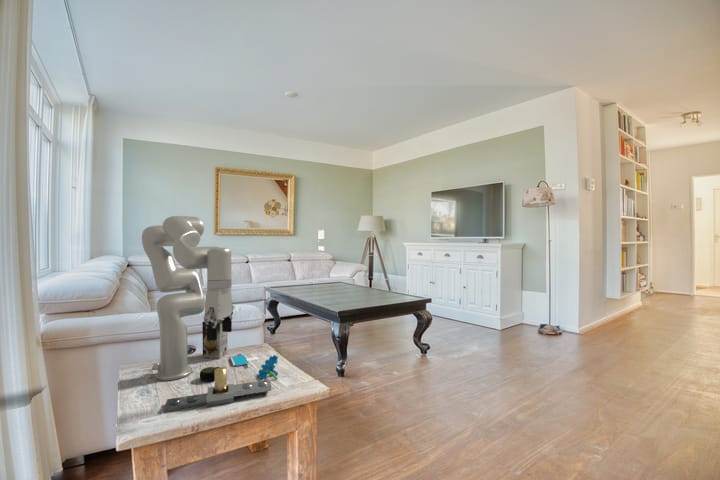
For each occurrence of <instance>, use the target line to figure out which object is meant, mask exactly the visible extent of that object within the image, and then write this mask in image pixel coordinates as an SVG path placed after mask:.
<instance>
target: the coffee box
mask: <svg viewBox="0 0 720 480" xmlns="http://www.w3.org/2000/svg"><path fill="white" fill-rule="evenodd" d="M222 320H223V319H221V320H219V321H218V322H217V325H216V327H215V328H217V340H207V328H206V325H205V321H204V320H203V321H202V322H201V323H202V327H201V328H202V358H204V357H209V358H208V359H216V358H219V359H218V360H221V359H222V358H224V357H226V356H228V355H229V354H228V353H229V351H228V349H229V347H228V346H229V345H228V342H229V339H228V338H229V337H228V336H229V335H228V333H229V332H223V331H222ZM212 323H214V321H212ZM227 354H228V355H227ZM225 355H226V356H225Z"/></svg>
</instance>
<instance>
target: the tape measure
mask: <svg viewBox="0 0 720 480" xmlns="http://www.w3.org/2000/svg"><path fill="white" fill-rule="evenodd" d="M219 367H220V366H216V367H214V366H209V367H204V368H202V369H200V372H199V379H200V381H202V382H203V381H204V382H208V381H215V369H216V368H219Z"/></svg>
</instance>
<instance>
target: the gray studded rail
mask: <svg viewBox="0 0 720 480" xmlns="http://www.w3.org/2000/svg"><path fill="white" fill-rule="evenodd" d="M270 380H271V379H263V380H262V379H261V380H257V381H250V382H244V383H235V384H234V383H230V384H227V392H225V393H219V394H215V385H214V386H210V387H209V386H208V387H207V393H199V394H192V395H187V396H186V395H185V396H180V397H179V396H178V397H173V398H167V399H166V402H165V405H164V407H163V413H169V412H176V411H181V410H182V411H183V410H187V409H189V410H190V409H194V408H199V407H207V408H208V407H214V406H215V407H216V406H220V405H226V404H232V403H233V404H234V403H235V402H234V400H235V399H234V398H235V397H238V396H239V397H240V396H242V397H243V398H249V397H252V396H253V394H258V395H260V396H261V395H266V394H268V392H270V391H272V383H271V381H270Z"/></svg>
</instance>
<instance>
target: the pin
mask: <svg viewBox="0 0 720 480" xmlns="http://www.w3.org/2000/svg"><path fill="white" fill-rule="evenodd" d="M218 367H219V368H216V369H215V380H214V386H215V394H219V393H225V392H227V385H228V384H227V367H226V366H218Z"/></svg>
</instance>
